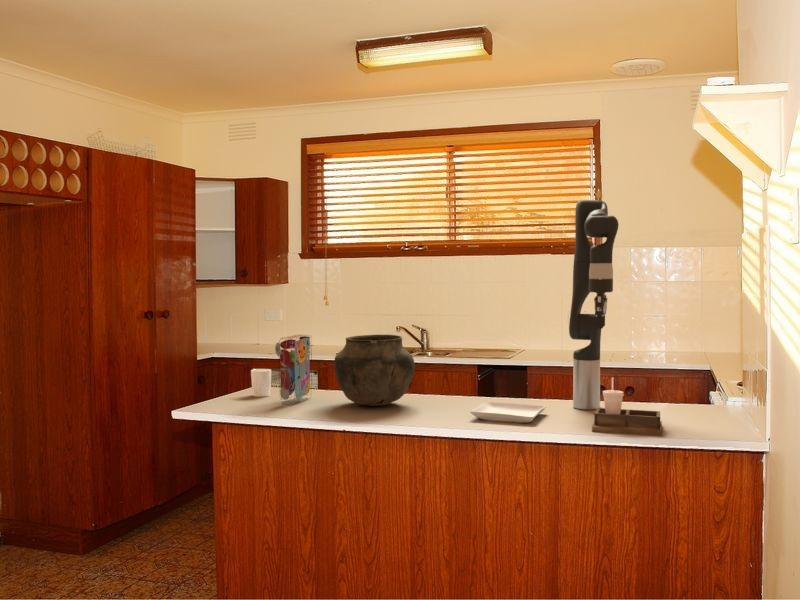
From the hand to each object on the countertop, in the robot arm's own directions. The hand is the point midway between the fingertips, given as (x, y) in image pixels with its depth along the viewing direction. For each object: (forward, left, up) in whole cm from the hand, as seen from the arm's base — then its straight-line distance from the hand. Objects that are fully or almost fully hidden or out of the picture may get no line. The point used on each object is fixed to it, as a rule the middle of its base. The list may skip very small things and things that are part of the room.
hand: (600, 327), depth 244 cm
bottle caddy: (+12, +9, -30) cm, 34 cm away
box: (+4, -110, -30) cm, 114 cm away
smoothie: (+12, +5, -29) cm, 31 cm away
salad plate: (+5, -29, -31) cm, 43 cm away
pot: (-1, -79, -30) cm, 85 cm away
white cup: (-8, -129, -30) cm, 133 cm away
